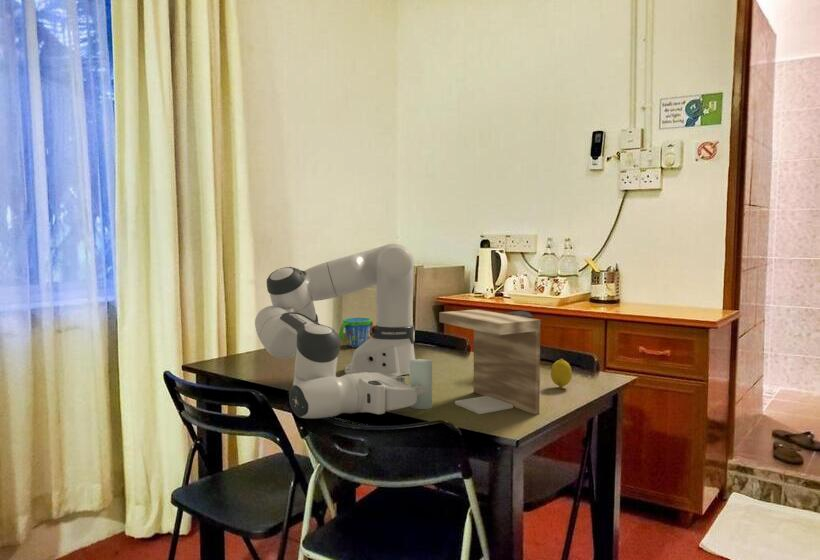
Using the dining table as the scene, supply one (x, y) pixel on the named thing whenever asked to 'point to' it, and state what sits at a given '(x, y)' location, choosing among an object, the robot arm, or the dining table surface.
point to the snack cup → (355, 330)
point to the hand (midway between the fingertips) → (413, 384)
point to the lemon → (561, 373)
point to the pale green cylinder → (421, 381)
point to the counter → (501, 360)
